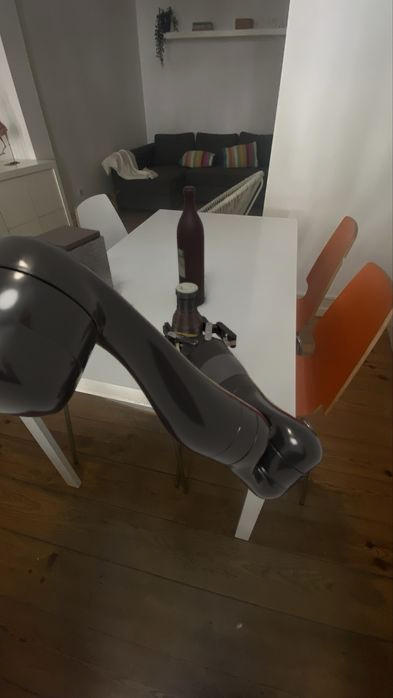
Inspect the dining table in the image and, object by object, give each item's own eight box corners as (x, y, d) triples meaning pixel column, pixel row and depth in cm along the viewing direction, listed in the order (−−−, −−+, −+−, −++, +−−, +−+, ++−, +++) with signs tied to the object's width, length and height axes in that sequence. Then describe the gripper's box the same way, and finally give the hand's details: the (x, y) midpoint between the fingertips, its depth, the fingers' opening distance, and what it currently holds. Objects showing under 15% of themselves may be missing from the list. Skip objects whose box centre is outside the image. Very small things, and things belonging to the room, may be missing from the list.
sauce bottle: (168, 376, 67) (159, 291, 55) (180, 358, 72) (174, 276, 59) (197, 383, 65) (194, 297, 53) (207, 365, 69) (207, 282, 57)
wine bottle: (187, 293, 96) (183, 182, 77) (208, 298, 93) (209, 185, 75) (175, 303, 91) (168, 188, 72) (197, 309, 88) (195, 191, 70)
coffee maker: (130, 305, 91) (118, 233, 78) (102, 326, 82) (84, 250, 70) (82, 292, 97) (64, 224, 85) (52, 310, 89) (27, 238, 77)
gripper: (260, 344, 51) (215, 297, 63) (175, 368, 47) (145, 313, 59) (255, 378, 55) (214, 329, 68) (178, 403, 51) (149, 345, 63)
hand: (182, 322), depth 63 cm, fingers closed on sauce bottle, 6 cm apart
